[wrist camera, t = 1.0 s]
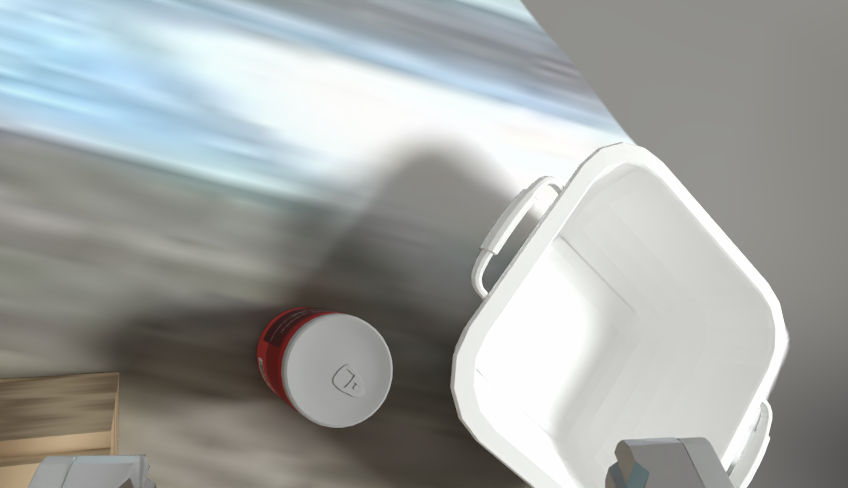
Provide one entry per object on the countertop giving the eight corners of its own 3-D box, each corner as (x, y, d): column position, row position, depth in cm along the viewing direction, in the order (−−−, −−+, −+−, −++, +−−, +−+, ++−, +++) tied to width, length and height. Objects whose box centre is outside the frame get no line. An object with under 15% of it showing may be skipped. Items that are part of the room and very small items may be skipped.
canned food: (321, 415, 54) (364, 446, 44) (236, 375, 52) (260, 399, 42) (362, 332, 56) (412, 345, 46) (281, 290, 53) (316, 293, 43)
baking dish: (715, 330, 74) (824, 341, 62) (590, 555, 65) (689, 616, 53) (517, 119, 64) (602, 84, 52) (339, 350, 55) (393, 370, 44)
